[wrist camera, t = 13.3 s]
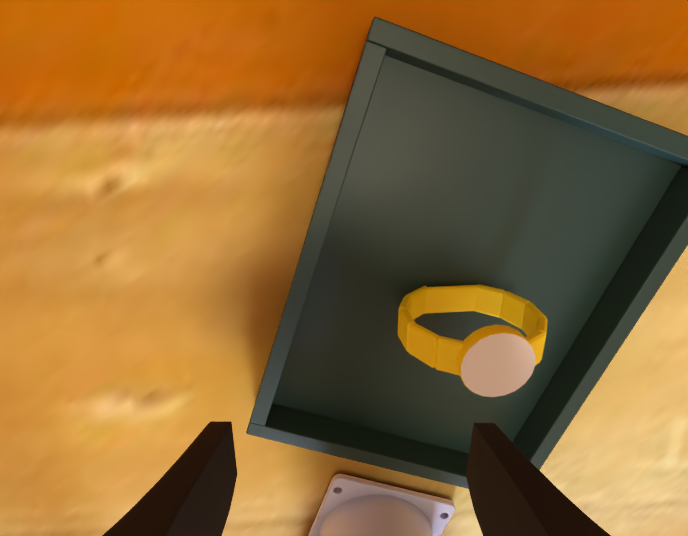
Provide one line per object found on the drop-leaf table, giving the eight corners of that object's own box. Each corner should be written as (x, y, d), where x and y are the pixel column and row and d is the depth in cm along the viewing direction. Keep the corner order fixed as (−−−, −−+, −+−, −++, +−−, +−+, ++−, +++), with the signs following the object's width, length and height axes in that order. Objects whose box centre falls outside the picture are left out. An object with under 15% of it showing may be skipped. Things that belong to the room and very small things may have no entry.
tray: (503, 468, 25) (519, 501, 23) (254, 404, 23) (245, 434, 21) (698, 152, 18) (746, 158, 16) (369, 27, 16) (373, 15, 14)
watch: (390, 322, 21) (408, 400, 15) (392, 271, 20) (412, 334, 14) (508, 320, 21) (570, 398, 15) (516, 269, 20) (585, 332, 14)
